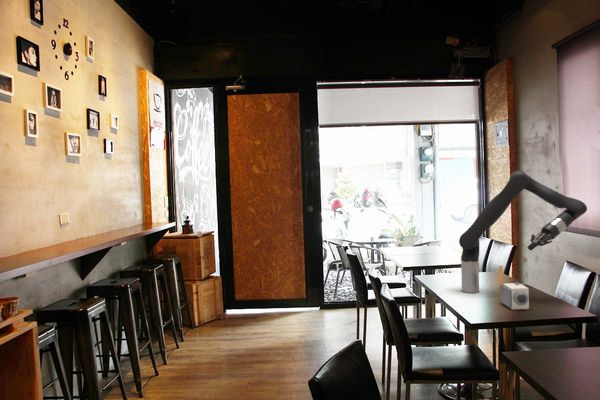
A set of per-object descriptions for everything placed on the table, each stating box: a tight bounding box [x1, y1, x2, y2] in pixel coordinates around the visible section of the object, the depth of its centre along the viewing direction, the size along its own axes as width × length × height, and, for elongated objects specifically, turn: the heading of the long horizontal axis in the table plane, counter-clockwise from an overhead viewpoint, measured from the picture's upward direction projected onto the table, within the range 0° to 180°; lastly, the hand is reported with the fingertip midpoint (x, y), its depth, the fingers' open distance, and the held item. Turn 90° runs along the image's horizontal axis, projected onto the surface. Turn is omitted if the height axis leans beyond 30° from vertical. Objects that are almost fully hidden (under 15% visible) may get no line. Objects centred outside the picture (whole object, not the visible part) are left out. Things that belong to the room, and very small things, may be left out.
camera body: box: [503, 281, 530, 310], centre depth 244 cm, size 14×8×11 cm, turn 177°
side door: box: [498, 265, 512, 309], centre depth 245 cm, size 13×1×18 cm, turn 177°
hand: (529, 248), depth 250 cm, fingers closed
